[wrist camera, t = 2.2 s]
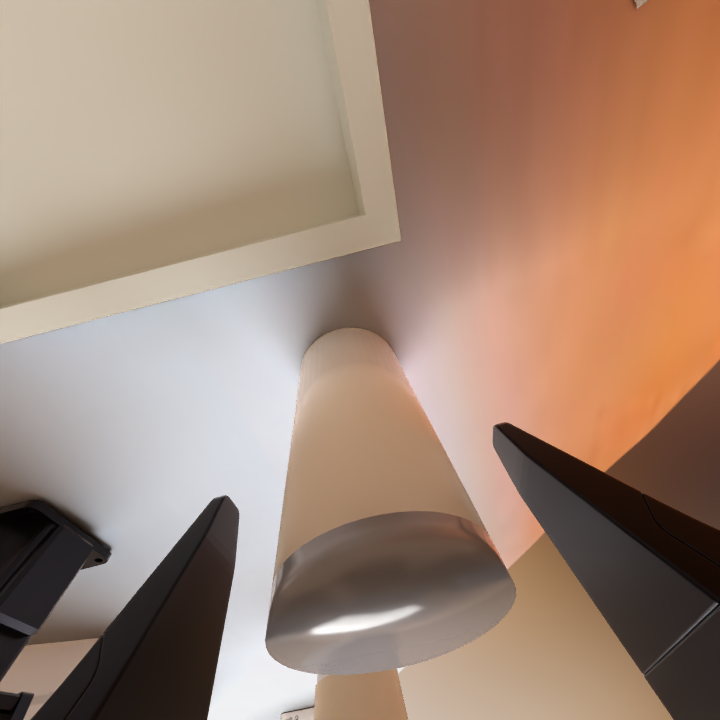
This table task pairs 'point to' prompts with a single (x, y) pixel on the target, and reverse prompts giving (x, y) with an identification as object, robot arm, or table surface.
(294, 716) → the supplement box
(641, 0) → the condiment
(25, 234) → the tray
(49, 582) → the robot arm
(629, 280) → the table surface
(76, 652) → the pizza boxes
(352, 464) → the jar
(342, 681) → the coffee cup
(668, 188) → the table surface
